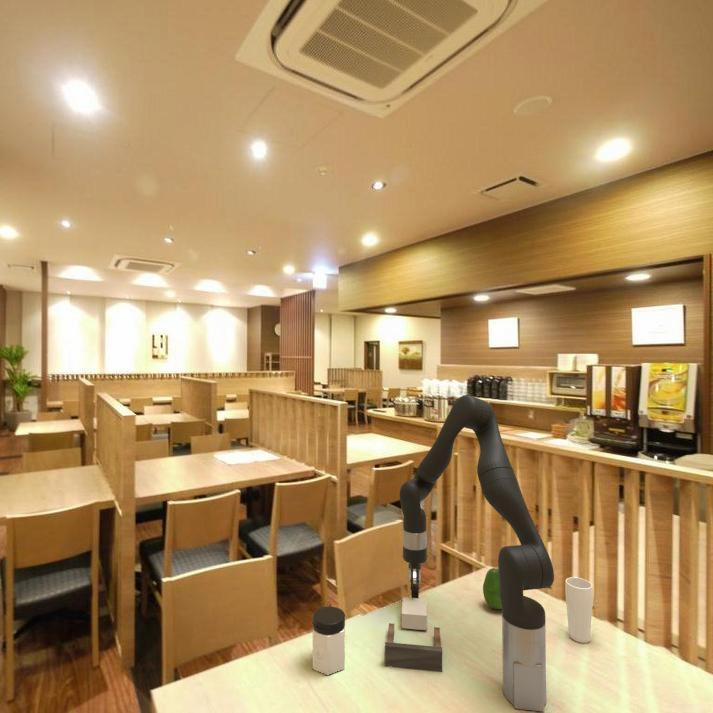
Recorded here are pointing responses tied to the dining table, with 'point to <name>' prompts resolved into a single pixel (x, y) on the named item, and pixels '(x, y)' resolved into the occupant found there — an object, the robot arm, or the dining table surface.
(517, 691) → the robot arm
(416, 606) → the white rectangular block
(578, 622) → the drinking glass
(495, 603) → the avocado
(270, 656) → the dining table surface
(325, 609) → the jar
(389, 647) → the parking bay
